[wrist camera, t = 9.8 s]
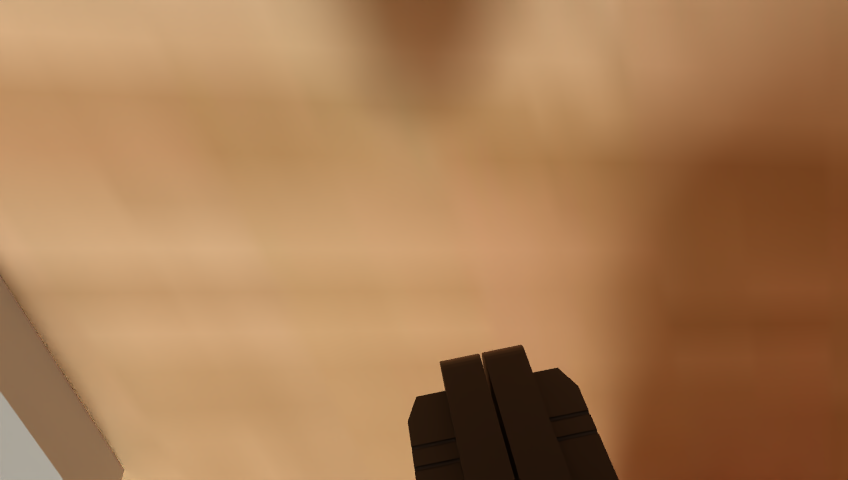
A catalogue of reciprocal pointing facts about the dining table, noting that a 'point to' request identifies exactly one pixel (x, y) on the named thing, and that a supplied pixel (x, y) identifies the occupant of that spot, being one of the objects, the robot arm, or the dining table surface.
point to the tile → (43, 411)
